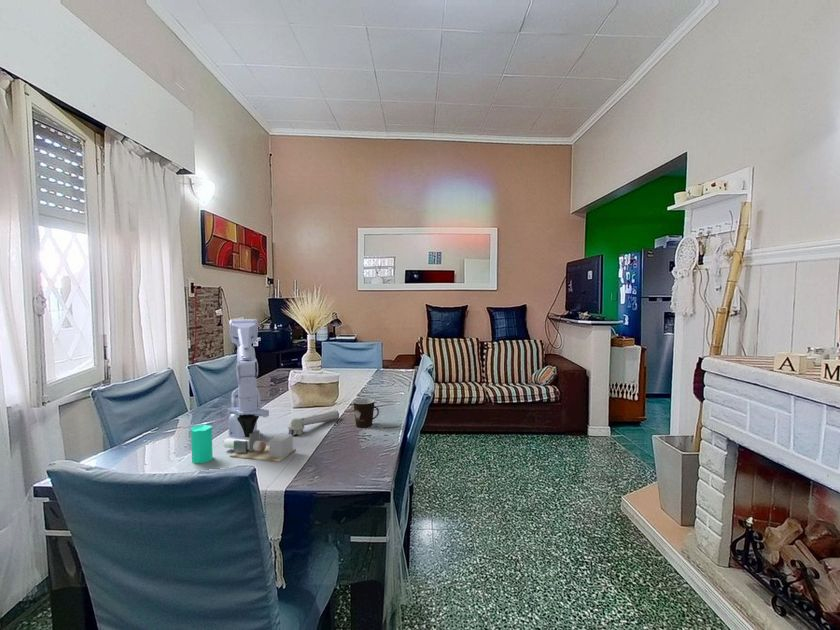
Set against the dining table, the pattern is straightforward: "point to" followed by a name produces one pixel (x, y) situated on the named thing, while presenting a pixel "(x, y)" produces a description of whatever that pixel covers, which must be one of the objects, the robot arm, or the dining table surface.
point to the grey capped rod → (311, 421)
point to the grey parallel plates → (241, 446)
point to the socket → (281, 445)
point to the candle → (201, 443)
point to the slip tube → (253, 442)
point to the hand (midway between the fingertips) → (248, 436)
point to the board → (259, 455)
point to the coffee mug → (364, 412)
